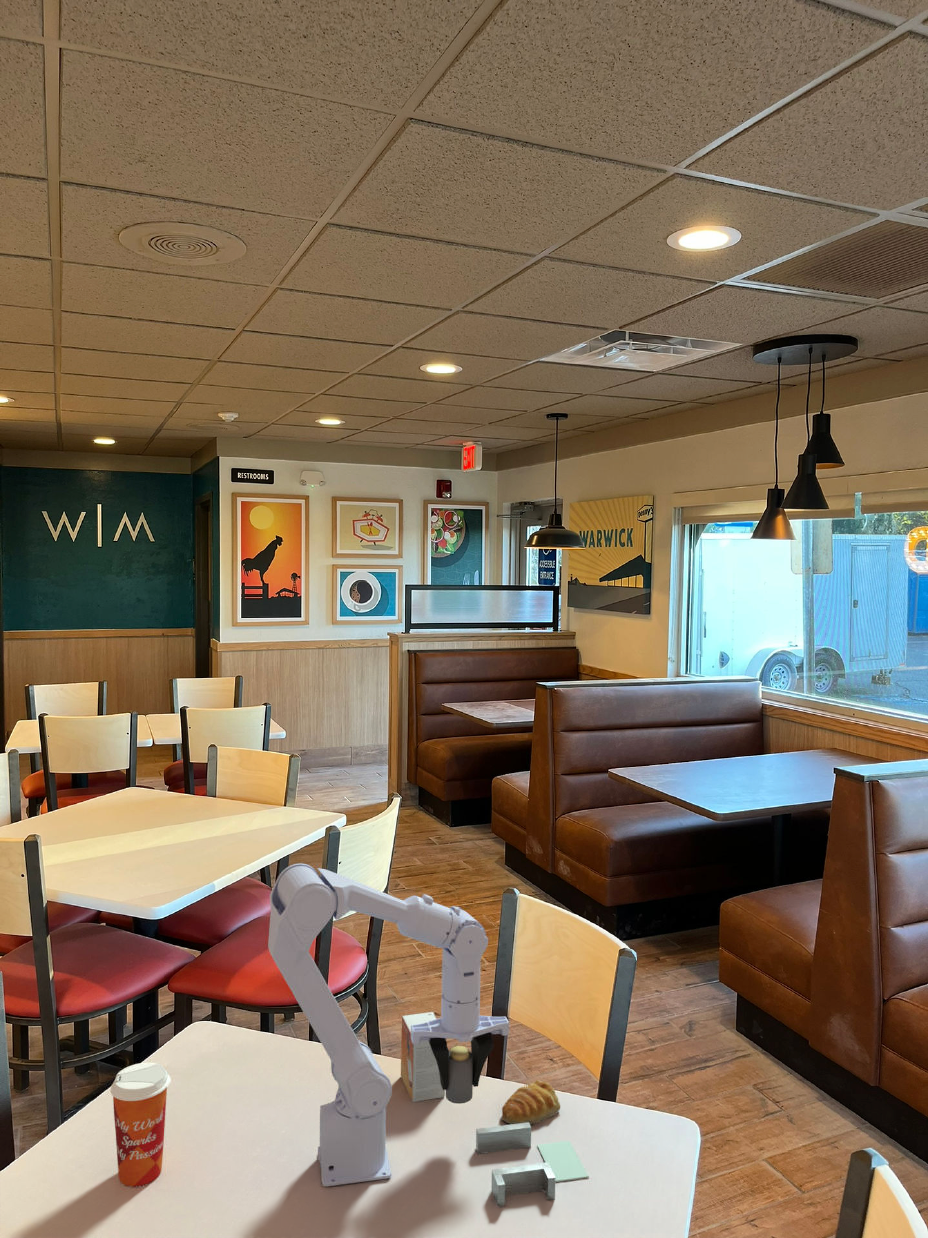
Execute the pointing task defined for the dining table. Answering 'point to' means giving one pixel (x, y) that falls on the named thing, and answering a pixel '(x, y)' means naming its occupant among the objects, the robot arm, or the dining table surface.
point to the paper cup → (140, 1122)
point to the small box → (419, 1062)
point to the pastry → (531, 1104)
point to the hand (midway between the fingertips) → (459, 1084)
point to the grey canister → (460, 1075)
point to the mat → (563, 1161)
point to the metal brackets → (519, 1176)
